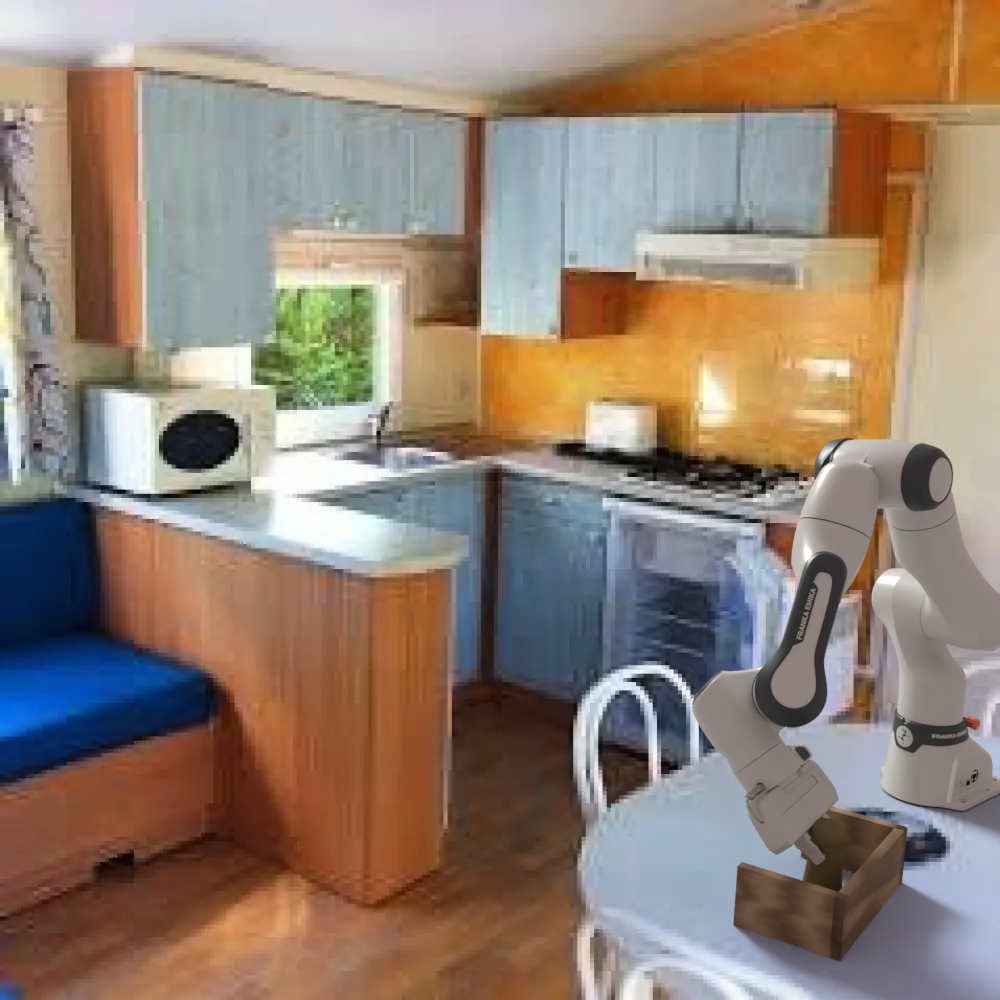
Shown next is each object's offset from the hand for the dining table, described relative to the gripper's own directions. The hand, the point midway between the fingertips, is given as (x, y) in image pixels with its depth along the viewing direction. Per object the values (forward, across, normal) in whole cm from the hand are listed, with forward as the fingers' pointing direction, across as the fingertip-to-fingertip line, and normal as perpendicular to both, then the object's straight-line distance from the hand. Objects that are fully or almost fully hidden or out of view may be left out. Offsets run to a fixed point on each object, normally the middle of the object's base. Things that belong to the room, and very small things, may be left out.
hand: (829, 854), depth 186 cm
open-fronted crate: (+5, 0, +6) cm, 8 cm away
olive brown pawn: (+4, 0, +5) cm, 6 cm away
